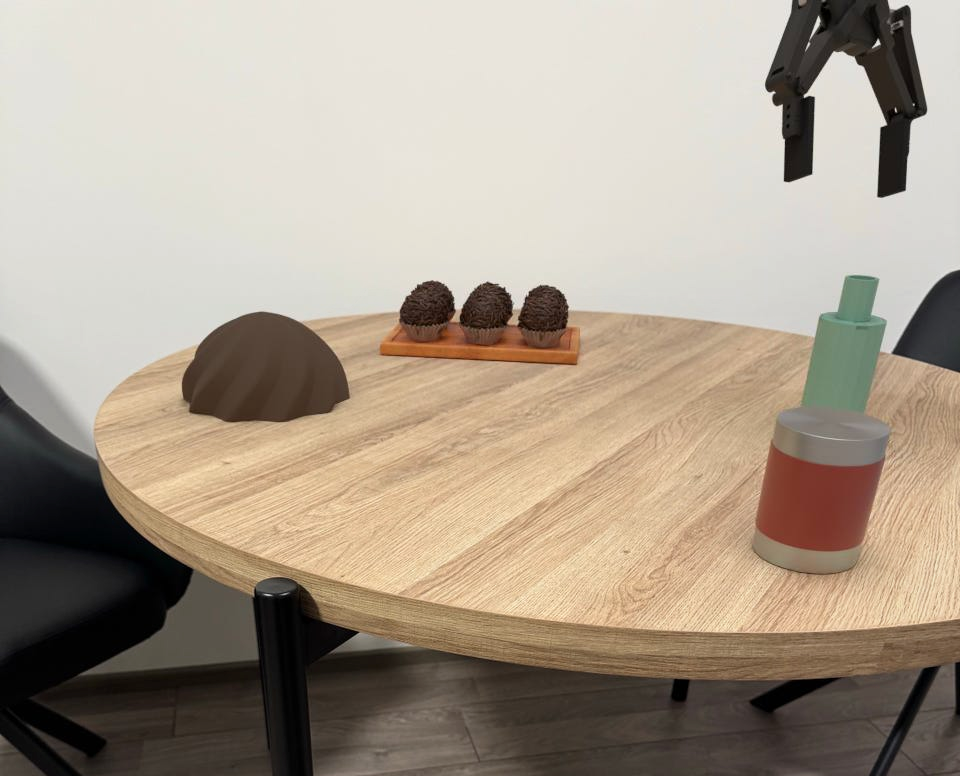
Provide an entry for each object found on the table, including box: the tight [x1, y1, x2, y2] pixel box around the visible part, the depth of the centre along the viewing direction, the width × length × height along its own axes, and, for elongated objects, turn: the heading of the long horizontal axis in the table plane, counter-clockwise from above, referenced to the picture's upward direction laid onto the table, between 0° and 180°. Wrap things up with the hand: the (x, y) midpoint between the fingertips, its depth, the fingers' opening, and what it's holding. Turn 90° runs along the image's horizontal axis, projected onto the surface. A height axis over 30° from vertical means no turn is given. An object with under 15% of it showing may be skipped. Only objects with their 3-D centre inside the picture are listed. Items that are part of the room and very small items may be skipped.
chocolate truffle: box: [379, 279, 581, 365], centre depth 133 cm, size 28×17×8 cm, turn 83°
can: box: [751, 406, 892, 575], centre depth 73 cm, size 9×9×11 cm
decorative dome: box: [181, 310, 350, 423], centre depth 107 cm, size 19×20×10 cm
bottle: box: [800, 274, 888, 414], centre depth 97 cm, size 7×7×17 cm
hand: (846, 186), depth 88 cm, fingers open, 13 cm apart
